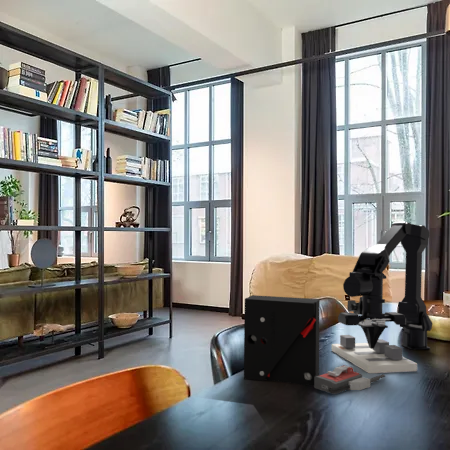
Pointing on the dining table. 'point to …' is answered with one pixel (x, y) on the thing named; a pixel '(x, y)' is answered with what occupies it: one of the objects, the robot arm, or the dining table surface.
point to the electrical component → (281, 339)
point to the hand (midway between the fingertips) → (371, 348)
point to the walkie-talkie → (343, 380)
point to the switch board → (373, 359)
